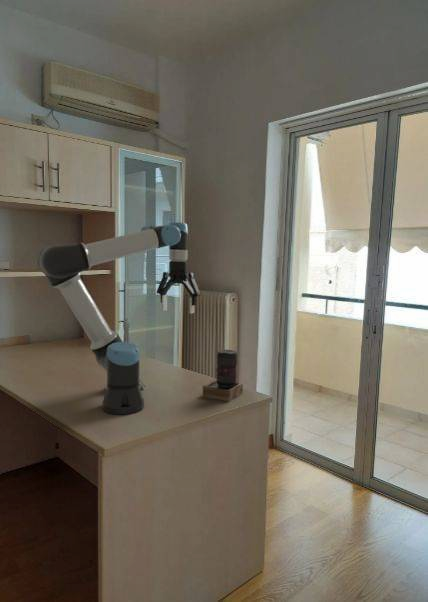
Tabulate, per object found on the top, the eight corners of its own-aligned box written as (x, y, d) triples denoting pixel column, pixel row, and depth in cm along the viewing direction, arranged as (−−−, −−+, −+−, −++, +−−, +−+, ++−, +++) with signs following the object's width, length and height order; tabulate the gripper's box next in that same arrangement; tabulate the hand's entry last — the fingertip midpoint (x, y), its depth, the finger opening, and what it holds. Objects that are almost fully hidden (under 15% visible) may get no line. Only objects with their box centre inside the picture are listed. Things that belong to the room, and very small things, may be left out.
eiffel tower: (149, 389, 187) (149, 318, 184) (122, 396, 178) (121, 322, 174) (130, 382, 196) (130, 315, 193) (104, 388, 187) (103, 318, 184)
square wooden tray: (229, 401, 173) (229, 391, 173) (202, 396, 179) (202, 386, 178) (242, 393, 184) (242, 383, 183) (216, 388, 189) (217, 379, 189)
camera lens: (235, 391, 175) (235, 354, 174) (214, 390, 177) (215, 353, 175) (237, 385, 183) (238, 349, 182) (218, 384, 185) (219, 348, 183)
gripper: (209, 261, 180) (208, 313, 183) (158, 259, 192) (158, 308, 194) (199, 261, 174) (199, 315, 176) (148, 260, 186) (148, 310, 188)
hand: (177, 312), depth 185 cm, fingers open, 13 cm apart
